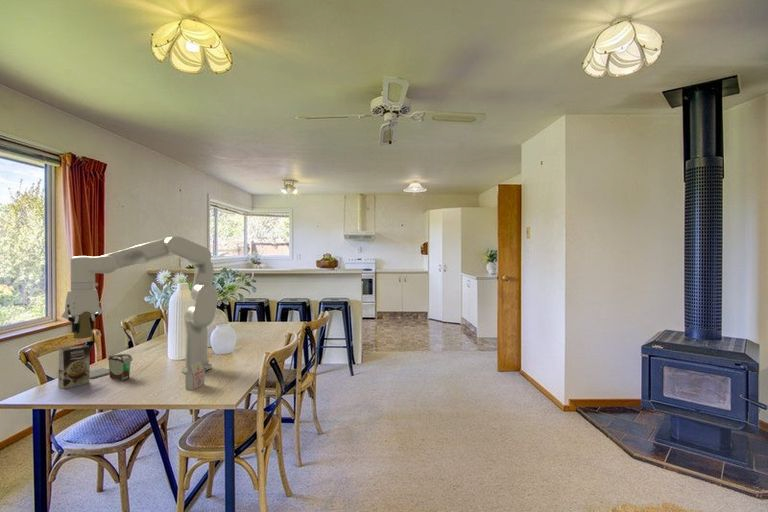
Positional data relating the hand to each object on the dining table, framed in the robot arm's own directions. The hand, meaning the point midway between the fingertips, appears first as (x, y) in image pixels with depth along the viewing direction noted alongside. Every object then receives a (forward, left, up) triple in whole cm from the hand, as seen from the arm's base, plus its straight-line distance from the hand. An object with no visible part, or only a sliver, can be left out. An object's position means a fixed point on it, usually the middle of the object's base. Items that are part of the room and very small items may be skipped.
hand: (83, 331), depth 147 cm
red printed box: (-35, -24, -25) cm, 49 cm away
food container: (+4, -18, -25) cm, 31 cm away
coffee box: (+14, -4, -25) cm, 29 cm away
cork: (0, 0, -2) cm, 2 cm away
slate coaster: (+20, -16, -25) cm, 36 cm away
